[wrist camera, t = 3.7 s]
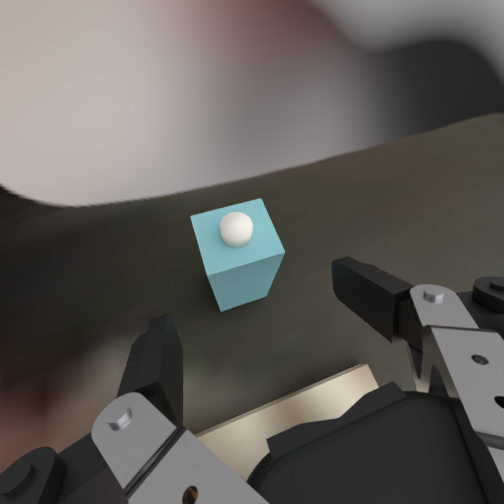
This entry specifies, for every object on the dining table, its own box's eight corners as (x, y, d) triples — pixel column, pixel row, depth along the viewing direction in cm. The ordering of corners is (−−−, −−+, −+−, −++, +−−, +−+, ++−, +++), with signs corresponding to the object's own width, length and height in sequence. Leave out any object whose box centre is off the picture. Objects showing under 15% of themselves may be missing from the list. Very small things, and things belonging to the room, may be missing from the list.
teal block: (220, 311, 19) (205, 269, 10) (209, 273, 20) (187, 207, 12) (266, 296, 20) (288, 245, 11) (252, 260, 21) (262, 188, 12)
